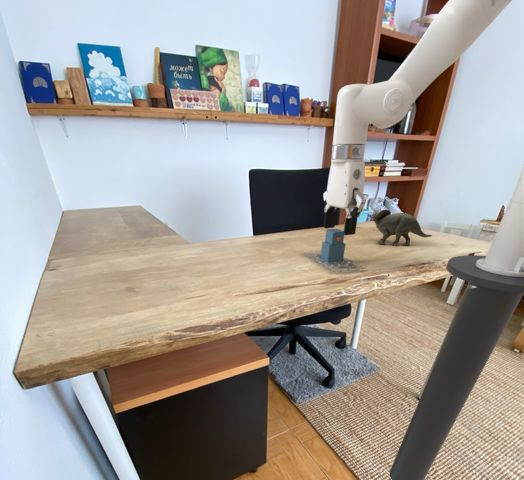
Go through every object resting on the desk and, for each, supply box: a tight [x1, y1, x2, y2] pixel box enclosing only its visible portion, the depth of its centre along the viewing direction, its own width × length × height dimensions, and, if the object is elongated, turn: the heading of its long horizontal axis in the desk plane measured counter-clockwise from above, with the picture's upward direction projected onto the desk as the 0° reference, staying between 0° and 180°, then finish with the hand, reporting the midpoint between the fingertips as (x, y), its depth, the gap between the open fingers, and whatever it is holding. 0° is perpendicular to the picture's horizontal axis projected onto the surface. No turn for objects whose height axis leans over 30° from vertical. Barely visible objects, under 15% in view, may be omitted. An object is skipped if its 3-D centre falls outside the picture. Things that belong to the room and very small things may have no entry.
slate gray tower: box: [319, 228, 346, 265], centre depth 81 cm, size 4×5×8 cm
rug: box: [302, 249, 368, 273], centre depth 83 cm, size 10×20×1 cm, turn 18°
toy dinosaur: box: [370, 204, 433, 247], centre depth 99 cm, size 22×8×11 cm, turn 51°
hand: (338, 231), depth 79 cm, fingers open, 9 cm apart
